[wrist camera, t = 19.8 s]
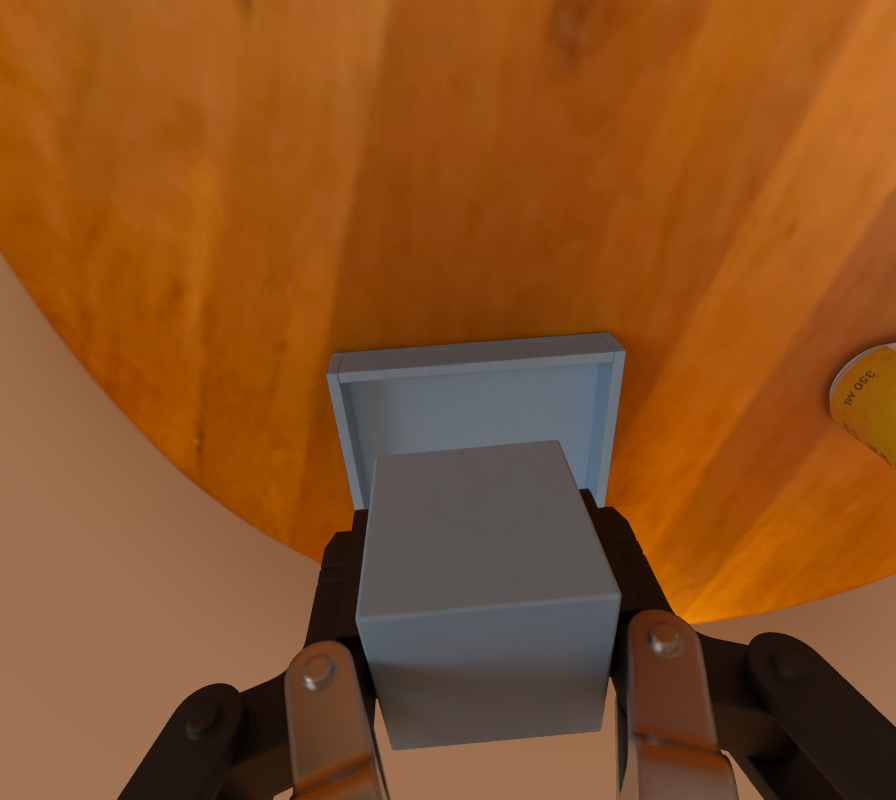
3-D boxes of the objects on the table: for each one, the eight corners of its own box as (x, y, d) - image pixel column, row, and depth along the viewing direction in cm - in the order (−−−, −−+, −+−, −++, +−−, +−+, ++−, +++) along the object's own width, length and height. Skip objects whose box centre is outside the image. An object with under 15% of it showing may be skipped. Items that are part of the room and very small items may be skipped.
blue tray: (367, 527, 34) (364, 556, 32) (332, 352, 27) (325, 374, 25) (589, 509, 34) (600, 536, 32) (610, 331, 27) (626, 350, 25)
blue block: (398, 578, 14) (391, 753, 11) (374, 455, 12) (353, 621, 8) (553, 563, 14) (602, 733, 11) (559, 438, 12) (624, 595, 8)
